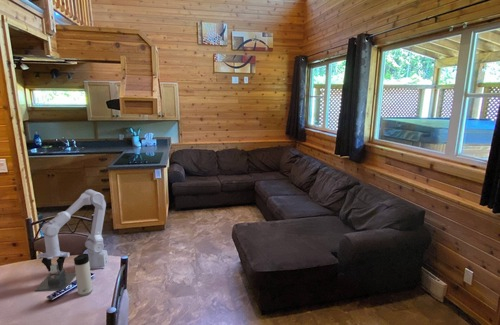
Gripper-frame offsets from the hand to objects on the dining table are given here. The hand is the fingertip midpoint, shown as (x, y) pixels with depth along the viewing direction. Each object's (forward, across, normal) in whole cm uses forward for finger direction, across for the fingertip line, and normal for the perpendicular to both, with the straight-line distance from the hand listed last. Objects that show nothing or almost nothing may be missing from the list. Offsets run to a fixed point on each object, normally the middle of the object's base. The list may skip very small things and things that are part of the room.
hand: (55, 270), depth 156 cm
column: (+7, 0, 0) cm, 7 cm away
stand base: (+7, 0, 0) cm, 7 cm away
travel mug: (+7, +18, -10) cm, 22 cm away
